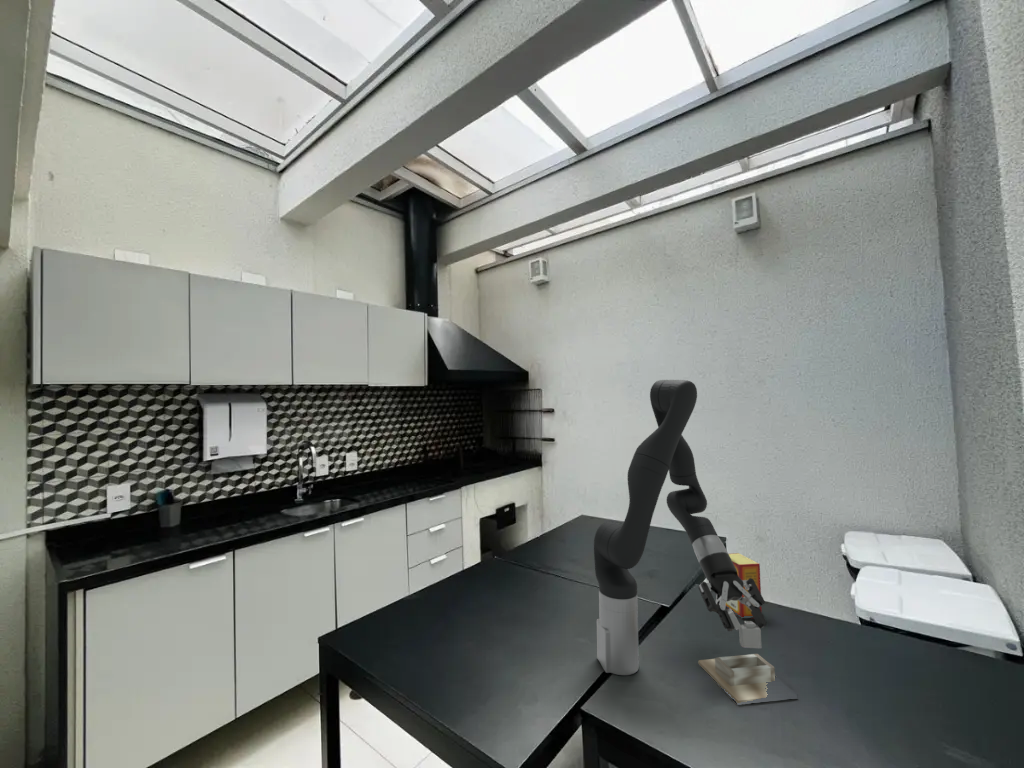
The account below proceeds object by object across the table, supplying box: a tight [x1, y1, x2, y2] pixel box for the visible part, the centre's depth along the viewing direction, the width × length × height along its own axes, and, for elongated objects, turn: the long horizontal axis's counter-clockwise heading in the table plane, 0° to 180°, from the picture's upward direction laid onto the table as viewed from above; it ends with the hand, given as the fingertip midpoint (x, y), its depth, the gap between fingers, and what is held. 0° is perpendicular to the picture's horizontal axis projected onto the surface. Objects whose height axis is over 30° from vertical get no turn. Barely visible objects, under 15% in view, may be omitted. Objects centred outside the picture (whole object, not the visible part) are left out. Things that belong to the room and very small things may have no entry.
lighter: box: [725, 608, 762, 649], centre depth 94 cm, size 7×2×8 cm, turn 84°
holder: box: [697, 653, 776, 703], centre depth 93 cm, size 14×14×4 cm
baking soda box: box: [726, 552, 763, 617], centre depth 126 cm, size 10×6×16 cm
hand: (747, 628), depth 92 cm, fingers closed on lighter, 7 cm apart
